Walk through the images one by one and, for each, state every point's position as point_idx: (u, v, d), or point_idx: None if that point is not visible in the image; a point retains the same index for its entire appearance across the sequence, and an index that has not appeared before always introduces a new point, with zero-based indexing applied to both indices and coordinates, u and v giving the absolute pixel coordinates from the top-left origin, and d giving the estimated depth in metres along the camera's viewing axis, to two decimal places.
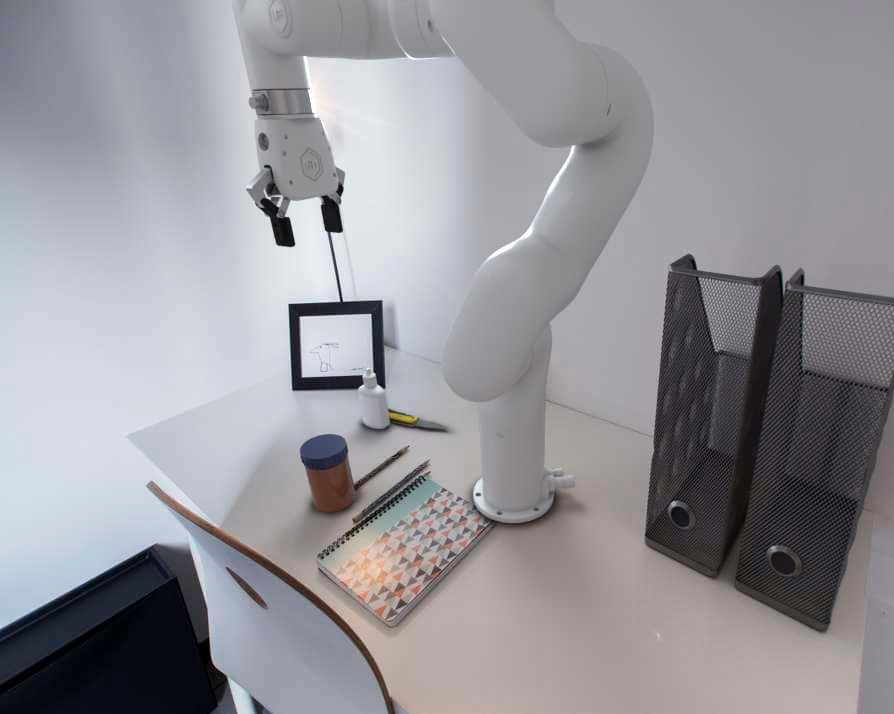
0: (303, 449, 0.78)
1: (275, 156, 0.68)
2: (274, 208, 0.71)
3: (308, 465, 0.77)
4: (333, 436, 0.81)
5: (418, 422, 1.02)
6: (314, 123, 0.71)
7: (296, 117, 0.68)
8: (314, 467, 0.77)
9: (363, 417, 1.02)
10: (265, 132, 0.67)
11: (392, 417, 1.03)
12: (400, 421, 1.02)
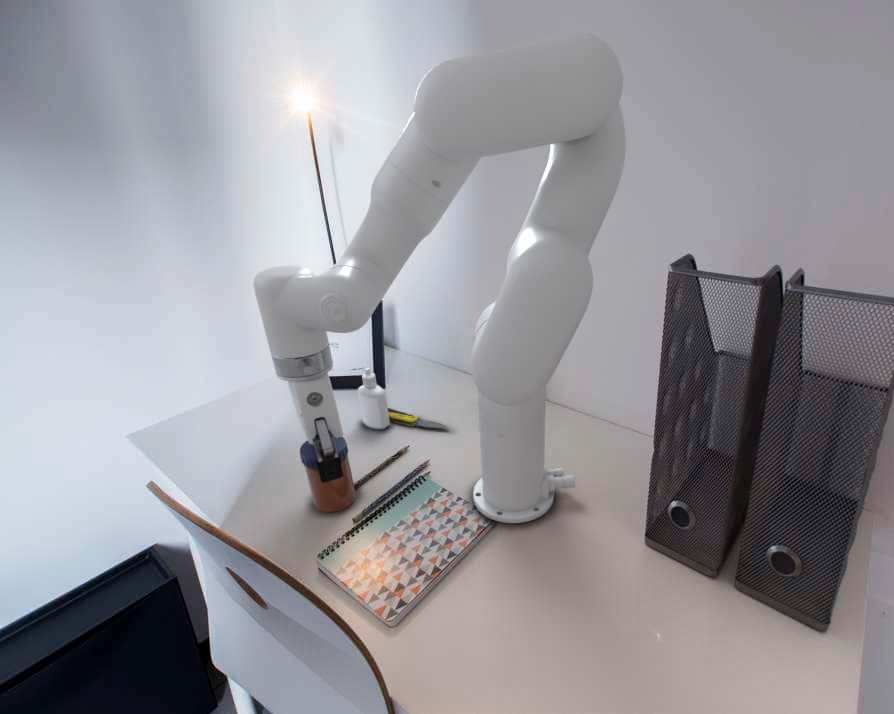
0: (303, 449, 0.78)
1: (330, 407, 0.71)
2: None
3: (308, 465, 0.77)
4: (333, 436, 0.81)
5: (419, 421, 1.02)
6: None
7: (332, 367, 0.73)
8: (314, 467, 0.77)
9: (363, 417, 1.02)
10: (318, 390, 0.70)
11: (393, 416, 1.03)
12: (401, 420, 1.03)
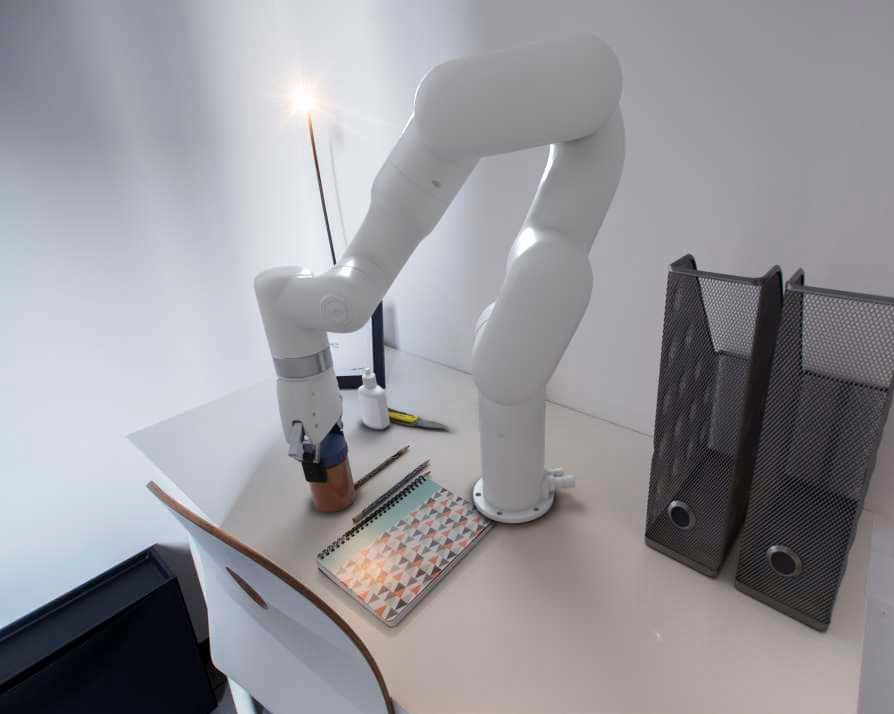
0: (339, 448, 0.78)
1: None
2: None
3: (346, 446, 0.81)
4: None
5: (419, 421, 1.02)
6: None
7: None
8: None
9: (363, 417, 1.02)
10: None
11: (393, 416, 1.03)
12: (401, 420, 1.03)
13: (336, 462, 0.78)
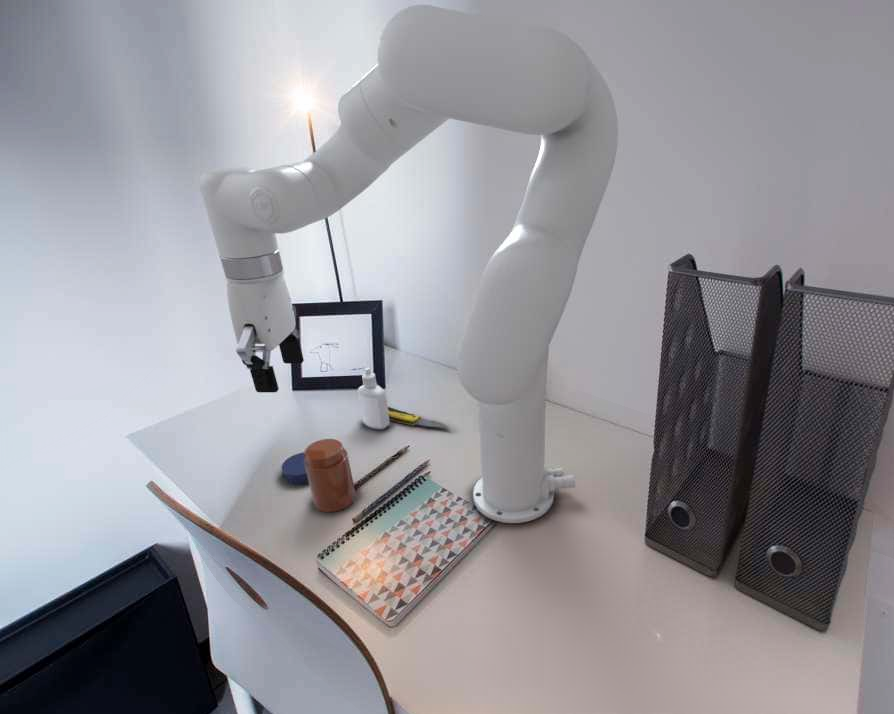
0: None
1: None
2: None
3: None
4: (286, 469, 0.88)
5: (419, 421, 1.02)
6: None
7: None
8: None
9: (363, 417, 1.02)
10: None
11: (394, 415, 1.03)
12: (401, 420, 1.03)
13: None
